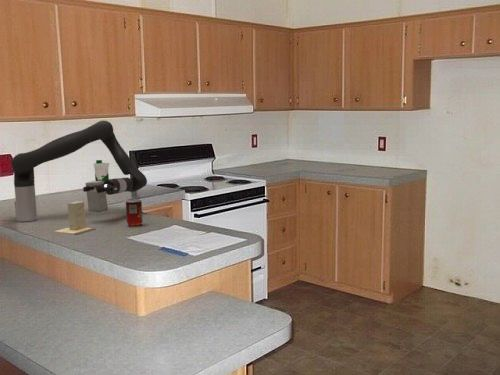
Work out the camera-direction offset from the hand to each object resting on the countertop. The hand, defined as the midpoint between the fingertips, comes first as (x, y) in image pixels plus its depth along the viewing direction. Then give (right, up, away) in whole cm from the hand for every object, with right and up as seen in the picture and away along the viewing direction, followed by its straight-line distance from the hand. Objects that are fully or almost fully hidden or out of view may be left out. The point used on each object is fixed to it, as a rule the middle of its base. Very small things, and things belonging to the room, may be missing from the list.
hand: (90, 190), depth 243 cm
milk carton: (-30, 0, +127) cm, 130 cm away
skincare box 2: (-9, -11, +42) cm, 45 cm away
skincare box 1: (-4, -18, -6) cm, 19 cm away
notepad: (-5, -18, -8) cm, 20 cm away
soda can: (+20, -17, 0) cm, 26 cm away
